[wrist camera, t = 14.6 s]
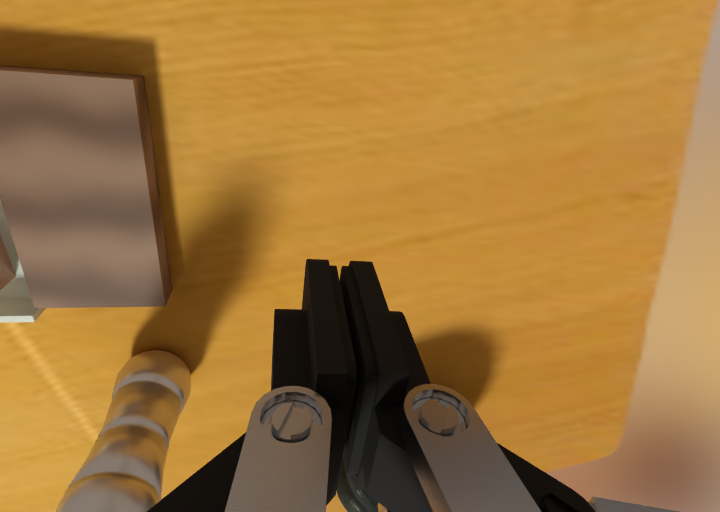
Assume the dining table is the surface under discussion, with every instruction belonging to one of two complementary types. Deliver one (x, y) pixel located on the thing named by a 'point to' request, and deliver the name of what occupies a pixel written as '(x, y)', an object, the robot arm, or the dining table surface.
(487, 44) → the dining table surface
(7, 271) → the tile
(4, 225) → the tray
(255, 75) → the dining table surface
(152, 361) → the plastic bottle
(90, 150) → the board
